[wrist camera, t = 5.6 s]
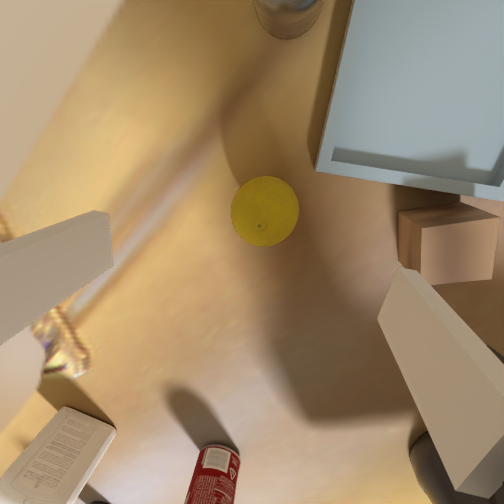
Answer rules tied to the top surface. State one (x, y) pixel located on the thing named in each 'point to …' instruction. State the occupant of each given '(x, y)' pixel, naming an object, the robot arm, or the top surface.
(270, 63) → the top surface
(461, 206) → the walnut block
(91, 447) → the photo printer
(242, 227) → the lemon
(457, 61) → the dish
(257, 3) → the grey tin
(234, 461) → the soda can
